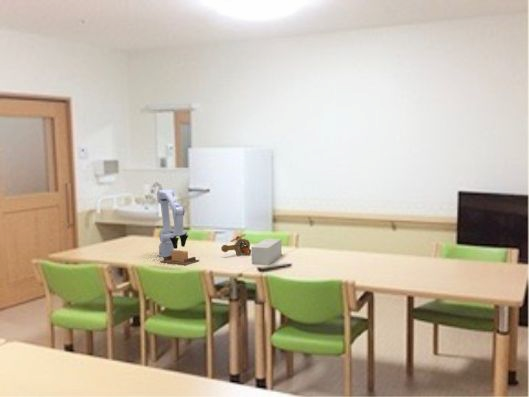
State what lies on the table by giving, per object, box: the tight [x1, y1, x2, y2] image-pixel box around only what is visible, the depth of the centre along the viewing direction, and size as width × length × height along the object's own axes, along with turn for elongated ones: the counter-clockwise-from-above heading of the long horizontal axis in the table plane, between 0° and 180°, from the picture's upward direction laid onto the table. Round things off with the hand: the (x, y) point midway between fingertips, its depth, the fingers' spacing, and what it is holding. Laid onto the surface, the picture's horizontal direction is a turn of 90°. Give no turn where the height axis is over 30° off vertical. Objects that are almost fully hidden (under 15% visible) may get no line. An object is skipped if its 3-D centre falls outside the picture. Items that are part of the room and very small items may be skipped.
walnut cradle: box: [159, 255, 200, 267], centre depth 354 cm, size 20×14×3 cm
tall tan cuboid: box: [172, 249, 189, 262], centre depth 354 cm, size 10×4×6 cm, turn 61°
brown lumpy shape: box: [220, 234, 252, 257], centre depth 370 cm, size 8×21×14 cm, turn 122°
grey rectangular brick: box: [250, 238, 283, 266], centre depth 358 cm, size 32×11×11 cm, turn 164°
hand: (179, 247), depth 353 cm, fingers open, 7 cm apart
